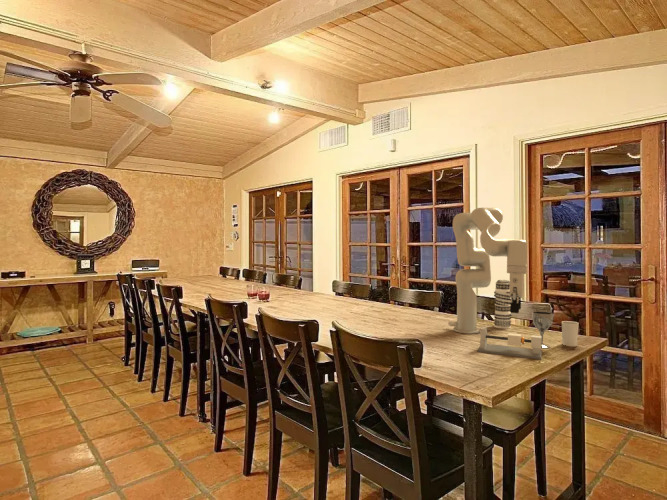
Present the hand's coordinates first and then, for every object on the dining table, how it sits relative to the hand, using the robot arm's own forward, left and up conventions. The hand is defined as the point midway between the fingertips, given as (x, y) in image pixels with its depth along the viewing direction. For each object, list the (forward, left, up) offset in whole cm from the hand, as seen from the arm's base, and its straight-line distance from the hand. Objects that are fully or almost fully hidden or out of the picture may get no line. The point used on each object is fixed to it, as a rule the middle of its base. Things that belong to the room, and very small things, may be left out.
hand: (515, 310), depth 181 cm
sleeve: (0, 0, -14) cm, 14 cm away
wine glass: (+10, +17, -18) cm, 26 cm away
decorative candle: (-10, +52, -18) cm, 56 cm away
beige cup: (+21, +26, -18) cm, 37 cm away
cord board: (-2, 0, -18) cm, 18 cm away
